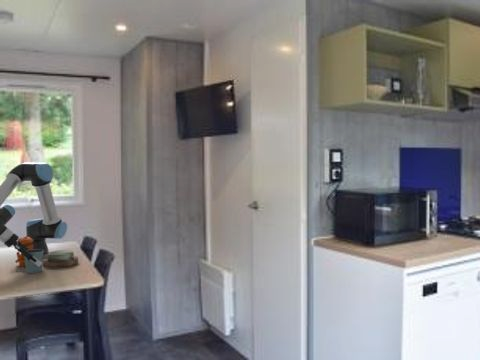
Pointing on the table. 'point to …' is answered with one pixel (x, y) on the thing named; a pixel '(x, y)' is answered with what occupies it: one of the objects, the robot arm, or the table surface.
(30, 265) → the teal tapered container
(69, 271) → the table surface
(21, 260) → the toy dinosaur
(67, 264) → the plinth
